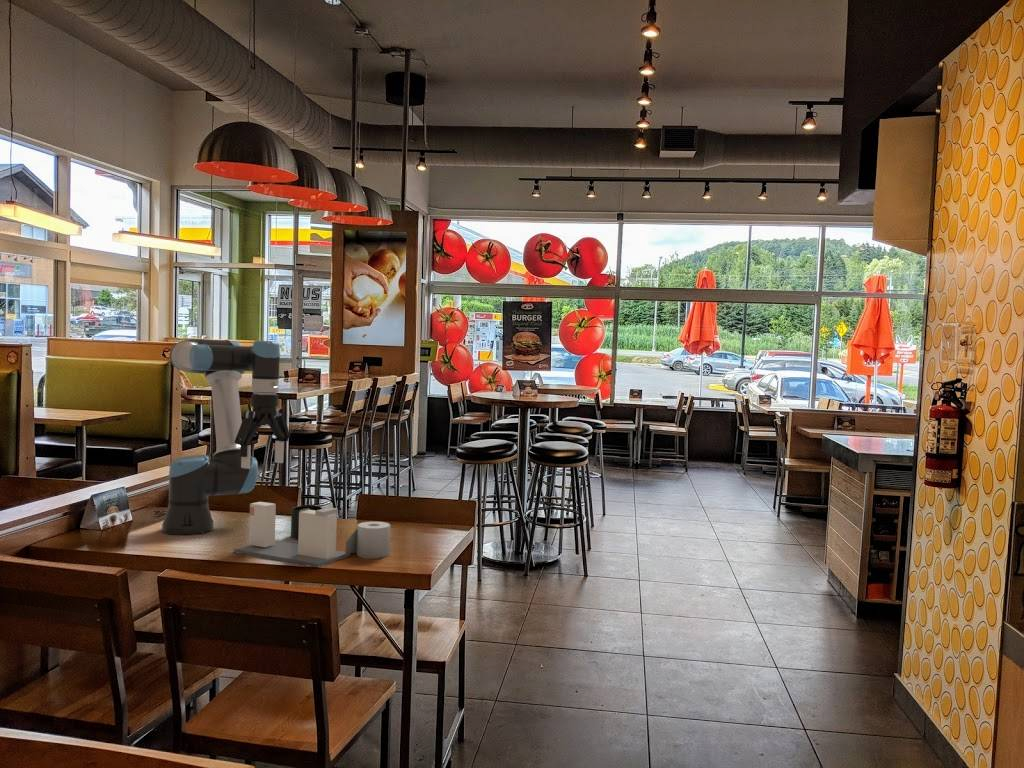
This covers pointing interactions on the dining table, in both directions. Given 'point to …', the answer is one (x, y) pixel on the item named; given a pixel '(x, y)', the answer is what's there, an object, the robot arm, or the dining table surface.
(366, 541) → the toilet tissue
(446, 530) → the dining table surface
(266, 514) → the white upright block
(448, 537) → the dining table surface
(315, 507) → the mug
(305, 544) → the grey bookend stand
